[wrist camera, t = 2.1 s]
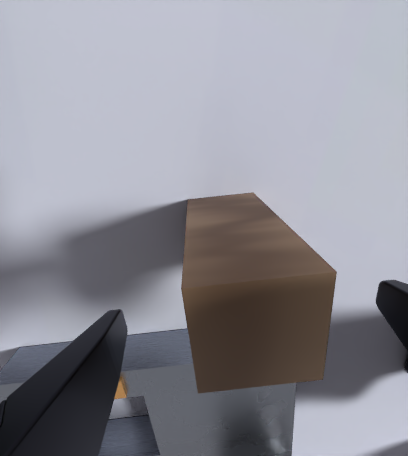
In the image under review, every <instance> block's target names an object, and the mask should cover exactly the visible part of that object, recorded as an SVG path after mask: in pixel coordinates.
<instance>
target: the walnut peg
mask: <svg viewBox="0 0 408 456" xmlns="http://www.w3.org/2000/svg"><path fill="white" fill-rule="evenodd" d="M336 273H337V272H336V271H335V270H334V269H333V268H332V267H331V266H330V265H329V264H328V263H327V262H326V261H325V260H324V259H323V258H322V257H321V256H320V255H318V254H317V253H316V252H315V251H314V250H313V249H312V248H311V247H310V246H309V245H308V244H307V243H306V242H305V241H304V240H303V239H302V238H301V237H299V236H298V235H297V234H296V233H295V232H294V231H293V230H292V229H291V228H290V227H289V226H288V225H287V224H286V223H285V222H284V221H283V220H282V219H280V218H279V217H278V216H277V215H276V214H275V213H274V212H273V211H272V210H271V209H270V208H269V207H268V206H267V205H266V204H265V203H264V202H263V201H262V200H260V199H259V198H258V197H257V196H256V195H255V194H254V193H244V194H235V195H226V196H216V197H207V198H197V199H188V203H187V217H186V231H185V245H184V259H183V272H182V286H181V290H182V296H183V302H184V309H185V315H186V321H187V328H188V334H189V340H190V347H191V353H192V359H193V366H194V372H195V378H196V385H197V391H198V394H199V393H208V392H217V391H226V390H235V389H244V388H253V387H262V386H270V385H279V384H288V383H297V382H306V381H315V380H323V376H324V368H325V360H326V352H327V344H328V336H329V328H330V320H331V312H332V305H333V297H334V289H335V281H336Z"/></svg>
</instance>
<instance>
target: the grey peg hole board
mask: <svg viewBox="0 0 408 456" xmlns="http://www.w3.org/2000/svg"><path fill="white" fill-rule="evenodd" d="M70 343H71V342H64V343H55V344H46V345H37V346H27V347H20V348H19V349H18V350H17V351H16V352H15V354H14V355H13V356H12V357H11V359H10V360H9V361H8V362H7V364H6V365H5V366H4V367H3V368H2V370H1V371H0V403H1V402H2V401H3V400H6V399H7V397H8V396H9V395H10V394H11V393H12V392H14V391H15V390H16V389H17V388H18V387H20V386H21V385H22V384H23V383H24V382H25V381H27V380H28V379H29V378H30V377H31V376H33V375H34V374H35V373H36V372H37V371H38V370H40V369H41V368H42V367H43V366H44V365H45V364H47V363H48V362H49V361H50V360H51V359H53V358H54V357H55V356H56V355H57V354H58V353H60V352H61V351H62V350H63V349H64V348H65V347H67V346H68V345H69V344H70ZM295 394H296V383H288V384H279V385H270V386H262V387H253V388H244V389H235V390H226V391H217V392H208V393H199V394H198V391H197V385H196V378H195V372H194V366H193V359H192V353H191V347H190V340H189V334H188V329H182V330H173V331H164V332H155V333H146V334H137V335H127V339H126V345H125V350H124V356H123V362H122V368H121V374H120V379H119V383H118V387H117V391H116V394H115V398H114V399H120V398H129V397H138V396H144V399H145V403H146V406H147V410H148V413H149V415H147V416H138V417H129V418H120V419H111V420H108V423H107V426H106V430H105V433H104V437H103V441H102V444H101V448H100V451H99V455H98V456H291V454H292V439H293V424H294V409H295Z"/></svg>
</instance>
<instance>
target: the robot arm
mask: <svg viewBox="0 0 408 456" xmlns="http://www.w3.org/2000/svg"><path fill="white" fill-rule="evenodd" d="M376 304H377V307H378V309H379V310H380V311H381V313H382V314H383V316H384V317H385V319H386V320H387V322H388V323H389V325H390V326H391V328H392V329H393V330H394V332H395V333H396V335H397V336H398V338H399V339H400V341H401V342H402V343H403V345H404V346H405V348H406V349H407V350H408V284H406V283H403V282H400V281H397V280H386V281H381V282H380V284H379V287H378V292H377V297H376ZM126 339H127V326H126V322H125V318H124V315H123V312H122V310H120V309H118V310H110V311H108V312H107V313H105V314H104V315H103V316H102V317H101V318H100V319H98V320H97V321H96V322H95V323H94V324H93V325H91V326H90V327H89V328H88V329H87V330H85V331H84V332H83V333H82V334H81V335H80V336H78V337H77V338H76V339H75V340H74V341H73V342H71V343H70V344H69V345H68V346H67V347H65V348H64V349H63V350H62V351H61V352H60V353H58V354H57V355H56V356H55V357H54V358H53V359H51V360H50V361H49V362H48V363H47V364H45V365H44V366H43V367H42V368H41V369H40V370H38V371H37V372H36V373H35V374H34V375H33V376H31V377H30V378H29V379H28V380H27V381H25V382H24V383H23V384H22V385H21V386H20V387H18V388H17V389H16V390H15V391H14V392H12V393H11V394H10V395H9V396H8V397H7V399H6V400H3V401H2V402H1V403H0V456H98V455H99V451H100V448H101V444H102V441H103V437H104V433H105V430H106V426H107V423H108V419H109V416H110V412H111V408H112V405H113V401H114V398H115V394H116V391H117V387H118V383H119V379H120V374H121V368H122V362H123V356H124V350H125V345H126ZM405 371H406V372H407V373H408V359H407V362H406V365H405Z"/></svg>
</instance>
